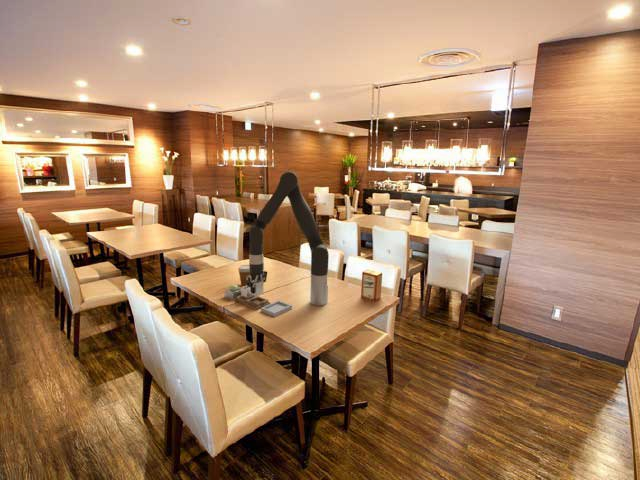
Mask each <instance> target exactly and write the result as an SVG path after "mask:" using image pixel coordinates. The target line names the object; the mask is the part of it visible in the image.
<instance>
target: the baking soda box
mask: <svg viewBox="0 0 640 480" xmlns="http://www.w3.org/2000/svg"><path fill="white" fill-rule="evenodd" d="M361 273H362V274H361V293H360V298H362V297H365V298H364V299H366V298H368V299H367V300H369V299H371V300H370V301H372V300H374V301H373V302H376V300H377V301H379V300H380V299H381V295H382V285H383V284H382V283H383V272H380V271H377V270H373V269H366V270H363V271H362V272H361ZM379 298H380V299H379Z"/></svg>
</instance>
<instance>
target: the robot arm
mask: <svg viewBox="0 0 640 480" xmlns="http://www.w3.org/2000/svg"><path fill="white" fill-rule="evenodd" d="M286 198H288V200H289V203H290V206H291V210H292V212H293V215H294V218H295V220H296V223H297V225H298V228H299V229H300V231H301V232H302V233H303V235H304V237H305V238H306V240H307V243H308V246H309V250H310V254H311V255H310V257H311V258H310V262H311V263H310V297H309V298H310V300H309V301H310V304H311V305H313V306H316V307H317V306H318V307H319V306H325V305H327V304H328V303H327V302H328V299H329V297H328V296H329V293H328V292H329V285H328V276H329V275H328V270H329V258H330V257H329V254H330V253H329V250H328V248H327V246H326V245H325V243H324V241H323V239H322V237H321V236H320V233H319V230H318V226H317V222H316V220H315V217H314V214H313V212H312V209H311V208H310V206H309V204H308V203H307V201H306V199H305V198H304V196H303V194H302V192H301V188H300V186H299V178H298V175H297V174H296V173H295V172H293V171H285V172H284V173H282V174H281V175H280V178H279V181H278V185H277V187H276V189H275V191H274V193H273V194H272V195H271V197H270V198H269V199H268V200H267V202H266V203H265V204H264V206H263V208H262V209H261V211H260V212H259V214H258V216H257V217H256V219H254V221H253V222H252V224H251V225H250V226H249V229H248V231H249V233H248V236H249V255H248V257H249V258H248V261H249V262H248V263H249V264H248V265H249V270H250V275H249V276H246V277H245V278H246V283H247V286H249V287H250V288H251V293H252V294H254V293H255V287H254V286H255V283H256V281H257V280H260V281H263V284H264V283H266V282H267V279H268V278H267V276H268V271H266V270H264V269H265V268H264V267H265V265H264V260H265V259H264V244H263V243H264V231H265V229H266V227H267V226H268V225H269V224H271V221H273V219H274V217H275V215H276V214H277V212H278V211H279V209H280V208H281V206H282V204H283V202H284V201H285V200H286ZM253 280H254V281H253ZM252 283H253V285H252Z"/></svg>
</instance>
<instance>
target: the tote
mask: <svg viewBox="0 0 640 480" xmlns="http://www.w3.org/2000/svg"><path fill="white" fill-rule="evenodd" d="M292 309H293V305H292V304H290V303H287V302H284V301H281V300H276V301H274V302H270V304H269V305H266V306H264V307H262V308H260V312H261V313H264V314H267V315H269V316H271V317H274V318H275V317H278V316H279V315H281V314H283V313H286V312H288V311H291V310H292Z"/></svg>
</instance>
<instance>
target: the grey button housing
mask: <svg viewBox="0 0 640 480" xmlns="http://www.w3.org/2000/svg"><path fill="white" fill-rule="evenodd" d="M237 288H238V290H237V291H231V287H228V288H226V289H224V298H226V299H228V300H231V301H234V302H235V299H237V297H238V296H240V295H241V287H239V286H237Z"/></svg>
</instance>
